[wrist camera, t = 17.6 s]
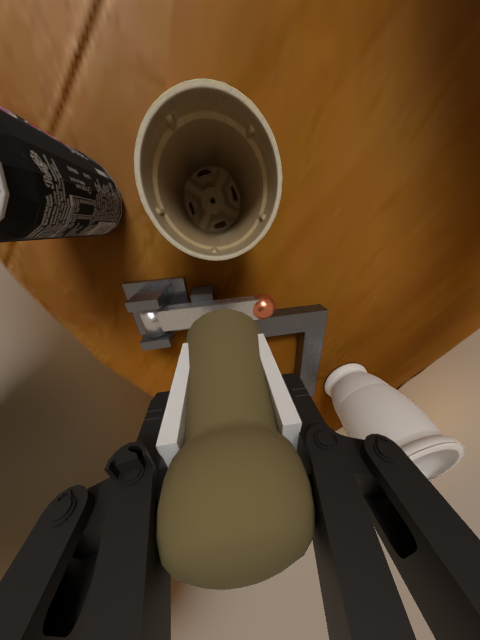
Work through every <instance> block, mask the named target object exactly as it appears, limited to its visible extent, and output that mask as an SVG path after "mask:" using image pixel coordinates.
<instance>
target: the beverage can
mask: <svg viewBox="0 0 480 640" xmlns="http://www.w3.org/2000/svg"><path fill="white" fill-rule="evenodd" d="M121 215H122V199H121V197H120V194H119V191H118V189H117V186H116V184H115V182H114V181H113V179H112V178H111V177H110V176H109V174H108V173H107V172H106V170H105V169H104V168H103V167H102V166H100V165H99V164H98V163H96V162H95V161H94V160H92V159H91V158H89V157H88V156H86V155H85V154H83V153H81V152H79V151H78V150H76V149H74V148H73V147H71V146H69V145H67V144H66V143H64V142H62V141H60V140H59V139H57V138H55V137H54V136H52V135H50V134H48V133H47V132H45V131H43V130H41V129H40V128H38V127H36V126H34V125H33V124H31V123H29V122H28V121H26V120H24V119H22V118H21V117H19V116H17V115H15V114H14V113H12V112H10V111H9V110H7V109H5V108H3V107H2V106H0V242H13V241H28V240H42V239H56V238H70V237H85V236H96V235H102V234H107V233H109V232H110V231H111V230H113V229H114V228H115V227H116V226H117V225H118V223H119V220H120V218H121Z"/></svg>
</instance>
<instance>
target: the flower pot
mask: <svg viewBox="0 0 480 640" xmlns="http://www.w3.org/2000/svg"><path fill="white" fill-rule="evenodd" d="M205 169H207V170H209V171H210V173H209V174H206V175H203V176H201V177H198V175H197V174H198V173H199V172H200V171H202V170H205ZM134 172H135V179H136V185H137V189H138V193H139V195H140V199H141V202H142V204H143V206H144V208H145V211H146V213H147V214H148V216H149V217H150V220H151V221H152V222H153V224H154V226H155V227H156V228H157V229H158V231H159V232H160V233H161V235H163V237H164V238H165V239H166V240H167V241H169V242H170V243H171V244H172V245H174V246H175V247H176V248H178V249H179V250H181V251H183V252H184V253H186V254H188V255H191V256H193V257H196V258H199V259H204V260H210V261H220V260H228V259H232V258H235V257H238V256H240V255H242V254H244V253H246V252H247V251H249V250H250V249H252V248H253V247H254V246H255V245H256V244H257V243H258V242H259V241H260V240H261V239H262V238H263V237H264V236H265V234H266V233H267V232H268V230H269V228H270V227H271V225H272V223H273V221H274V219H275V216H276V214H277V211H278V207H279V203H280V200H281V192H282V168H281V160H280V155H279V151H278V147H277V144H276V140H275V137H274V135H273V133H272V131H271V128H270V127H269V125H268V123H267V121H266V119H265V118H264V116H263V115H262V114H261V112H260V111H259V109H258V108H257V107H256V106H255V105H254V103H253V102H252V101H251V100H250V99H248V97H246V96H245V95H244V94H242V93H241V92H240V91H239V90H237V89H235V88H233V87H231V86H229V85H228V84H226V83H224V82H220V81H216V80H211V79H202V78H201V79H194V80H188V81H185V82H184V81H183V82H182V83H180V84H177V85H175V86H173V87H171V88H170V89H168V90H167V91H165V92H164V93H163V94H162V95H161V96H160V97H158V98H157V100H156V101H155V102H154V103H153V104H152V105H151V107H150V108H149V110H148V112H147V113H146V115H145V117H144V119H143V121H142V122H141V125H140V128H139V131H138V135H137V139H136V144H135V151H134ZM232 187H233V188H234V190H235V192H236V195H237V201H235V200H234V199H233V194H232V191H231V188H232ZM212 198H213V199H214V200H215V202H214V203H212V202H211V199H212ZM190 202H191V204H192V207H194V212H195V213H194V214H192V212H191V209H190V206H189V203H190ZM223 221H224V222H225V224H226V225H225V226H224V227H222V228H215V224H218V223H222V222H223Z"/></svg>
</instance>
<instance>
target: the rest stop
mask: <svg viewBox="0 0 480 640" xmlns="http://www.w3.org/2000/svg"><path fill="white" fill-rule="evenodd" d="M190 297H191V302H201V301H210V300H214V298H213V291H212V286H204V287H194V288H193V289H192V292H191V295H190Z"/></svg>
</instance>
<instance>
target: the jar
mask: <svg viewBox="0 0 480 640" xmlns="http://www.w3.org/2000/svg"><path fill="white" fill-rule="evenodd" d="M324 389H325V392H326V393H327V394H328V395H329V396H330V397H332V402H333V406H334V408H335V411H336V413H337V415H338V416H339V418H340V421H341V423H342V425H343V427H344V429H345V431H346V433H347V434H348V436H349V437H352V438H357V439H363V440H365V438H366V436H368V435H370V434H380V435H383V436H386V437H388V438H389V439H391V440H392V441H394V442H395V443H396V444H397V445H398V446H399V447H400V448H401V449H402V450H403V451H404V452H405V453H406V454H407V456H408V457H409V458H410V459H411V460H412V461H413V463H414V464H415V465H416V466H417V467H418V468H419V470H420V471H421V472H422V473H423V474H424V475H425V477H426V478H427V479H428V480H429V481H431V480H433V479H435V478H437V477H439V476H441V475H442V474H444V473H445V472H447V471H448V470H450V469H451V468H452V467H454V466H455V465H456V464H457V463H458V462H459V461H460V460H461V459H462V457H463V456H464V454H465V447H464V446H463V445H462V444H460V443H459V442H458V441H457V440H456V439H454V438H452V437H449V436H445V435H443V434H442V433H441V431H440V430H439V429H438V427H437V426H436V425H435V424H434V422H433V421H432V420H431V419H430V418H429V417H428V416H427V415H426V414H425V413H424V412H423V411H422V410H421V409H420V408H419V407H418V406H417V405H416V404H415V403H414V402H413V401H411V400H410V399H409V398H408V397H406V396H405V395H403V394H402V393H401V392H399V391H398V390H396V389H395V388H393V387H391V386H390V385H388V384H387V383H386V382H384V381H383V380H381V379H380V378H378V377H376V376H374V375H371V374H369V373H367V371H366V369H365V368H364V367H363V366H362V365H360V364H355V363H352V364H346V365H343V366H341V367H339V368H337V369H336V370H334V371H333V372H332V373H331V374H330V375H329V376H328V378H327V379H326V381H325V385H324Z"/></svg>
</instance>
